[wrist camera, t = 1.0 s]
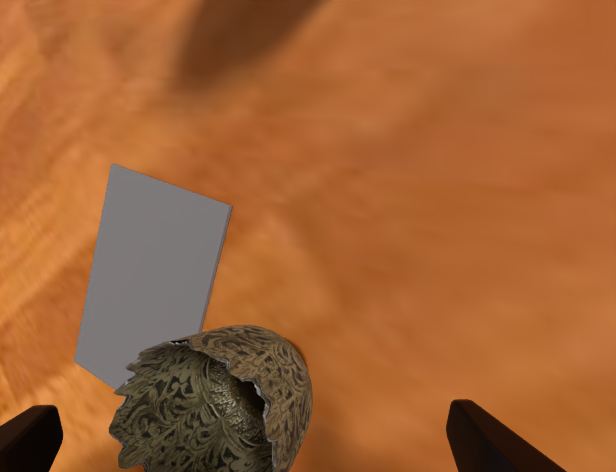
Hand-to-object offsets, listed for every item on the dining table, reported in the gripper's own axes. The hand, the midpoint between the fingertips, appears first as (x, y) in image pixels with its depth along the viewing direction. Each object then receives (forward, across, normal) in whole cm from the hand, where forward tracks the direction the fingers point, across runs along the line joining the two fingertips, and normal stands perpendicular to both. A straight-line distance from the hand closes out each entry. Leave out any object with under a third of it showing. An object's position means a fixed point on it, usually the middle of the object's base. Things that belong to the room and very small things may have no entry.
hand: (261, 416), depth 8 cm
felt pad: (+16, +9, +5) cm, 18 cm away
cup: (+10, -1, +7) cm, 12 cm away
